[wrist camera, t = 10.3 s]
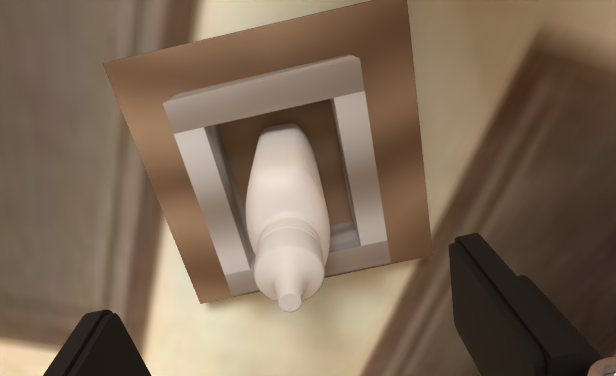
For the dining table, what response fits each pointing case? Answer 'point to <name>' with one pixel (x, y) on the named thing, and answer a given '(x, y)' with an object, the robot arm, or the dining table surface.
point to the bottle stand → (275, 111)
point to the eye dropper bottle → (287, 217)
